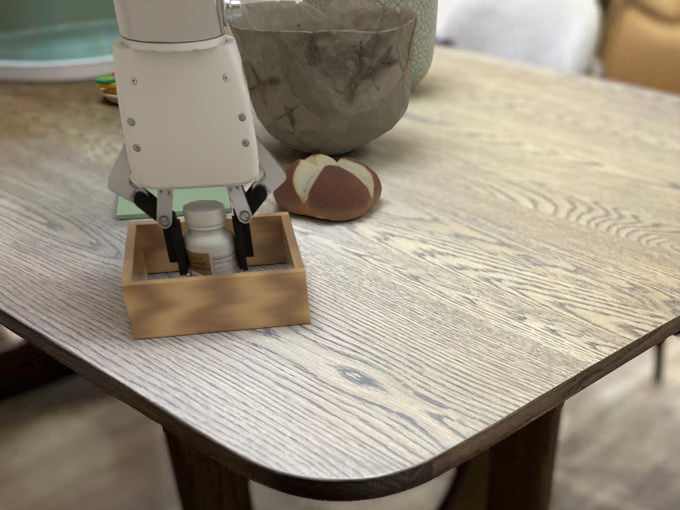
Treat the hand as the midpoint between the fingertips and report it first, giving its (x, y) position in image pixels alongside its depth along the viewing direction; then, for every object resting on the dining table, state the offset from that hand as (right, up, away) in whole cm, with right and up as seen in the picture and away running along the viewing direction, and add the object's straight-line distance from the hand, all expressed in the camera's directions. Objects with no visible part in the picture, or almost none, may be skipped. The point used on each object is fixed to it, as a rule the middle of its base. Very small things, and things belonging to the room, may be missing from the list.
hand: (213, 265), depth 74 cm
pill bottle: (0, -2, +2) cm, 3 cm away
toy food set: (-25, +47, +54) cm, 76 cm away
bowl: (+6, +29, +35) cm, 46 cm away
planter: (+9, +52, +60) cm, 80 cm away
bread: (+8, +14, +20) cm, 26 cm away
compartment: (0, -2, +2) cm, 3 cm away
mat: (-10, +16, +21) cm, 28 cm away
